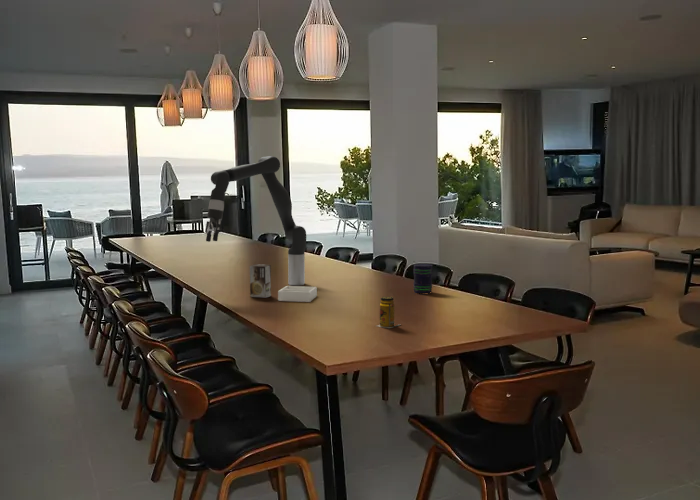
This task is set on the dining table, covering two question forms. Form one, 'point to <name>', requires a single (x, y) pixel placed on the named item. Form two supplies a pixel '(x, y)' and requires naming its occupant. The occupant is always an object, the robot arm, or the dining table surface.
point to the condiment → (387, 312)
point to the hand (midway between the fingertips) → (211, 241)
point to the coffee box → (260, 280)
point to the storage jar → (422, 278)
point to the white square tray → (297, 293)
